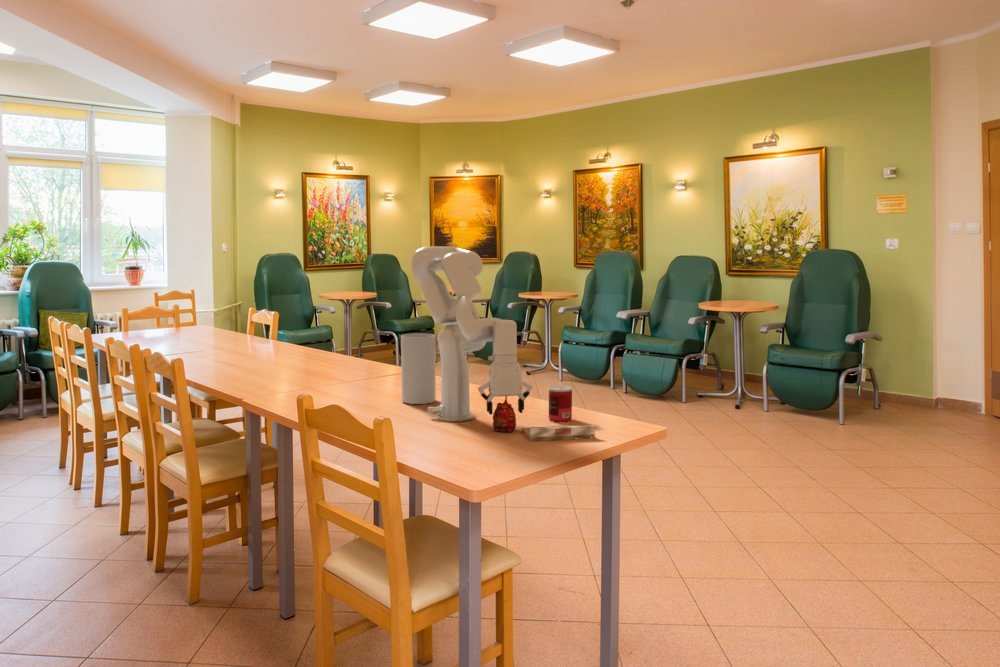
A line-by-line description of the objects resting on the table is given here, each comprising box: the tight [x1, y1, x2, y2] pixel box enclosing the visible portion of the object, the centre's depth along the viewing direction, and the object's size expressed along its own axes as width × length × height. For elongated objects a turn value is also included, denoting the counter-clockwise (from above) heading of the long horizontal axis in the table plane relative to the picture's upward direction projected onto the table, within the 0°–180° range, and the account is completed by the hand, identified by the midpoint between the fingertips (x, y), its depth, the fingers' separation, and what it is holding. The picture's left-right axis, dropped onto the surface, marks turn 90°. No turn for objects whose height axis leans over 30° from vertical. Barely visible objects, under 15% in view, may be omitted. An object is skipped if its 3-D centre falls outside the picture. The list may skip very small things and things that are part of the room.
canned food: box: [548, 385, 573, 423], centre depth 251 cm, size 8×8×11 cm
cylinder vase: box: [400, 332, 437, 405], centre depth 279 cm, size 12×12×25 cm
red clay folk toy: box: [492, 396, 517, 433], centre depth 237 cm, size 8×7×15 cm
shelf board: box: [521, 424, 596, 442], centre depth 232 cm, size 20×12×4 cm, turn 101°
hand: (505, 412), depth 237 cm, fingers open, 9 cm apart
